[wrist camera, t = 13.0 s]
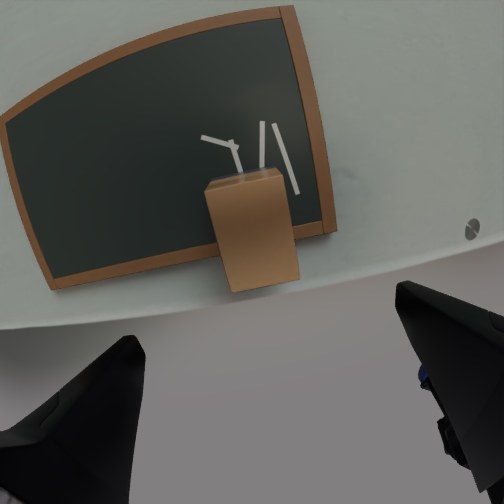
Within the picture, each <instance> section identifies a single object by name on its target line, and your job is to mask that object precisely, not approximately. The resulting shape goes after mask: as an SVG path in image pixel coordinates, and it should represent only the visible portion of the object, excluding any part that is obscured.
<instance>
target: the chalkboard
mask: <svg viewBox="0 0 504 504" xmlns="http://www.w3.org/2000/svg"><path fill="white" fill-rule="evenodd" d="M0 140H1V145H2V150H3V155H4V160H5V164H6V168H7V172H8V176H9V180H10V184H11V188H12V191H13V195H14V198H15V201H16V204H17V208H18V211H19V214H20V217H21V220H22V223H23V225H24V228H25V231H26V234H27V236H28V239H29V241H30V244H31V247H32V249H33V252H34V254H35V256H36V259H37V261H38V263H39V266H40V268H41V270H42V272H43V275H44V277H45V279H46V281H47V283H48V285H49V287H50V289H51V290H56V289H61V288H65V287H70V286H75V285H79V284H84V283H89V282H94V281H98V280H103V279H108V278H113V277H117V276H122V275H127V274H132V273H137V272H141V271H146V270H151V269H156V268H160V267H165V266H170V265H175V264H180V263H184V262H189V261H194V260H199V259H204V258H209V257H213V256H218V255H221V254H220V250H219V246H218V243H217V239H216V235H215V232H214V228H213V224H212V220H211V217H210V213H209V209H208V205H207V201H206V198H205V194H204V191H205V190H206V188H207V186H208V185H209V183H210V181H211V180H212V178H216V177H220V176H225V175H229V174H233V173H238V172H243V171H247V170H252V169H257V168H262V167H267V166H272V165H274V166H275V167H276V168H277V169H278V170H279V171H280V173H281V174H282V175H283V178H284V184H285V189H286V194H287V200H288V206H289V211H290V217H291V223H292V229H293V235H294V240H296V239H301V238H306V237H311V236H316V235H321V234H323V233H324V234H326V233H331V232H336V231H337V224H336V215H335V206H334V198H333V190H332V183H331V176H330V169H329V162H328V156H327V150H326V144H325V138H324V132H323V127H322V121H321V116H320V111H319V106H318V101H317V96H316V91H315V87H314V82H313V78H312V73H311V69H310V65H309V61H308V57H307V53H306V49H305V45H304V41H303V37H302V34H301V30H300V26H299V23H298V19H297V16H296V13H295V9H294V6H293V5H288V6H279V7H268V8H259V9H252V10H246V11H239V12H234V13H228V14H223V15H218V16H214V17H209V18H205V19H201V20H197V21H193V22H189V23H185V24H182V25H178V26H175V27H172V28H168V29H165V30H162V31H159V32H156V33H153V34H150V35H147V36H145V37H142V38H139V39H137V40H134V41H131V42H129V43H126V44H124V45H121V46H119V47H117V48H114V49H112V50H110V51H108V52H105V53H103V54H101V55H99V56H97V57H95V58H93V59H91V60H89V61H87V62H85V63H83V64H81V65H79V66H77V67H75V68H73V69H71V70H69V71H68V72H66V73H64V74H62V75H60V76H59V77H57V78H55V79H54V80H52V81H50V82H49V83H47V84H45V85H44V86H42V87H41V88H39V89H38V90H36V91H34V92H33V93H31V94H30V95H28V96H27V97H26V98H24V99H23V100H21V101H20V102H18V103H17V104H16V105H14V106H13V107H12V108H10V109H9V110H8V111H6V112H5V113H4V114H2V115H1V116H0Z"/></svg>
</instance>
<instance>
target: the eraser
mask: <svg viewBox="0 0 504 504" xmlns="http://www.w3.org/2000/svg"><path fill="white" fill-rule="evenodd" d="M204 194H205V198H206V201H207V205H208V209H209V213H210V217H211V220H212V224H213V228H214V232H215V235H216V239H217V243H218V246H219V250H220V254H221V257H222V261H223V264H224V268H225V272H226V275H227V279H228V282H229V286H230V289H231V292H232V293H234V292H239V291H244V290H250V289H255V288H260V287H265V286H270V285H275V284H280V283H285V282H289V281H294V280H299V279H300V273H299V266H298V260H297V254H296V247H295V241H294V235H293V229H292V223H291V217H290V211H289V206H288V200H287V194H286V189H285V184H284V178H283V175H282V174H281V173H280V171H279V170H278V169H277V168H276V167H275V166H274V165H272V166H267V167H262V168H257V169H252V170H247V171H243V172H238V173H233V174H229V175H225V176H220V177H216V178H212V180H211V181H210V183H209V185H208V186H207V188H206V190H205V191H204Z"/></svg>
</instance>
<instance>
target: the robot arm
mask: <svg viewBox="0 0 504 504" xmlns="http://www.w3.org/2000/svg"><path fill="white" fill-rule="evenodd" d="M395 307H396V310H397V313H398V315H399V317H400V319H401V322H402V324H403V326H404V329H405V331H406V333H407V336H408V338H409V340H410V343H411V345H412V347H413V349H414V351H415V352H416V354H417V356H418V358H419V360H420V361H421V363H422V365H423V367H424V369H425V371H426V373H427V375H428V376H427V378H426V379H425V380H424V381H423V382H422V384H421V385H420V386H421V388H422V389H430V391H431V392H432V394H433V396H434V398H435V399H436V401H437V403H438V405H439V407H440V408H441V410H442V412H443V414H444V417H443V418H442V419H439V420H438V421H437V423H438V429H439V432H440V434H441V437H442V440H443V444H444V450H445V453H446V454H448V455H451V457H452V458H454V459H455V460H456V461H457V463H459V465H461V466H463V467H465V468H467V469H469V470H471V472H472V474H473V477H474V479H475V483H476V485H477V488H478V491H479V493H481V492H483V491H484V490H487V492H488V495H489V498H490V501H491V504H504V317H503V316H501V315H498V314H496V313H493V312H491V311H489V312H488V310H485V309H483V308H480V307H477V306H475V305H473V304H470V303H467V302H465V301H462V300H459V299H457V298H454V297H452V296H449V295H446V294H444V293H441V292H438V291H435V290H432V289H430V288H427V287H425V286H422V285H419V284H417V283H413V282H411V281H403V282H400V283H398V284H397V286H396V298H395ZM145 358H146V357H145V352H144V350H143V348H142V347H141V345H140V343H139V341H138V339H137V338H136V336H134V335H127V336H123V337H122V338H121V339H119V340H118V341H117V342H116V343H115V344H114V345H112V346H111V347H110V348H109V349H108V350H106V351H105V352H104V353H103V354H101V355H100V356H99V357H98V358H97V359H96V360H94V361H93V362H92V363H91V364H90V365H88V366H87V367H86V368H85V369H84V370H83V371H81V372H80V373H79V374H78V375H77V376H75V377H74V378H73V379H72V380H71V381H70V382H68V383H67V384H66V385H65V386H64V387H63V388H61V389H60V391H58V392H57V393H56V394H54V395H53V396H52V397H51V398H50V399H48V400H47V401H46V402H45V403H43V404H42V405H41V406H40V407H38V408H37V409H36V410H35V411H33V412H32V413H31V414H29V415H28V416H26V417H25V418H24V419H22V420H21V421H20V422H18V423H17V424H16V425H14V426H13V427H11V428H10V429H8V430H5V431H0V504H129V491H130V480H131V471H132V463H133V455H134V447H135V440H136V432H137V426H138V420H139V414H140V408H141V401H142V396H143V384H144V372H145Z"/></svg>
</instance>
